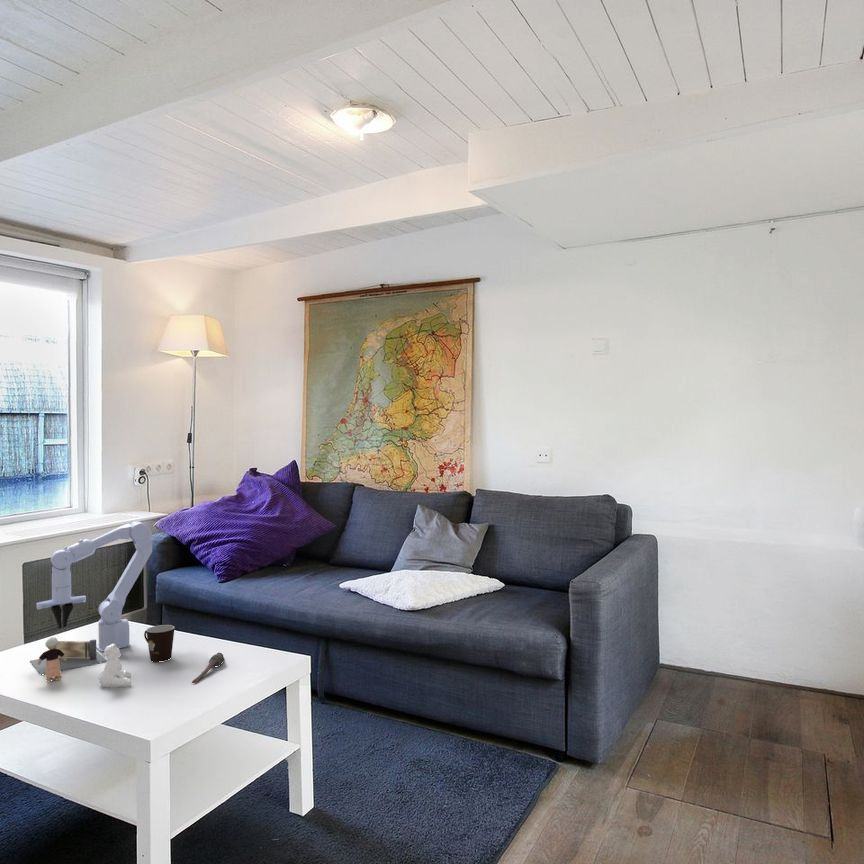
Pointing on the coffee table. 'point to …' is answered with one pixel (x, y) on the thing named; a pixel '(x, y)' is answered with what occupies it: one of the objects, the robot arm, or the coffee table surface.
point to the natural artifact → (211, 665)
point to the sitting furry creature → (114, 670)
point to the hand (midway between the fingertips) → (62, 627)
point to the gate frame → (73, 660)
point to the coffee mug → (160, 642)
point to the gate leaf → (74, 648)
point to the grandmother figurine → (52, 659)
